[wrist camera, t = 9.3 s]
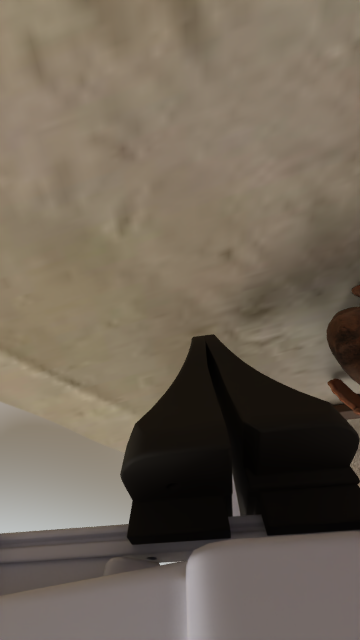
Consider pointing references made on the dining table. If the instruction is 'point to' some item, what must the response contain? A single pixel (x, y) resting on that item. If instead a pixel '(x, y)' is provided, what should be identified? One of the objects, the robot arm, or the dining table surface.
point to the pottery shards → (346, 351)
